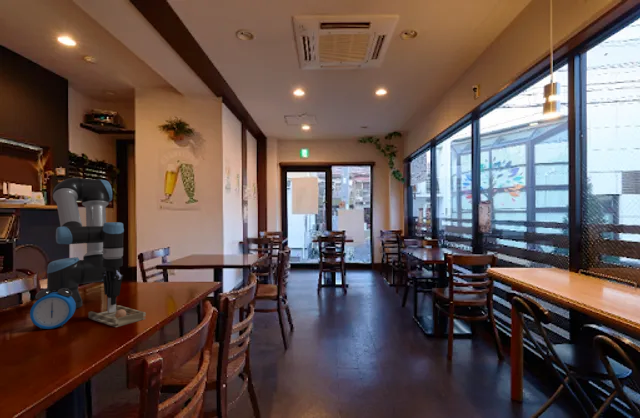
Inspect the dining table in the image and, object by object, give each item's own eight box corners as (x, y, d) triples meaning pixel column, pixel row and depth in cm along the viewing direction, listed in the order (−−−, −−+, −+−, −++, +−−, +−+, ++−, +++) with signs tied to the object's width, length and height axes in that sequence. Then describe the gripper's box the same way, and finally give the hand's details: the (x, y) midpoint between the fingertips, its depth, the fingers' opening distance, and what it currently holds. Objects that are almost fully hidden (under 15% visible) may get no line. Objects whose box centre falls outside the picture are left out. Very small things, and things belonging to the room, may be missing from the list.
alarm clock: (28, 332, 121) (29, 292, 121) (35, 327, 126) (36, 288, 127) (71, 327, 126) (72, 288, 127) (75, 322, 132) (76, 285, 132)
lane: (88, 318, 137) (88, 311, 138) (118, 311, 148) (118, 304, 148) (115, 327, 126) (115, 319, 126) (145, 319, 136) (145, 311, 136)
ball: (114, 321, 134) (112, 312, 135) (124, 319, 137) (121, 310, 138) (119, 318, 132) (117, 309, 133) (129, 316, 136) (126, 307, 136)
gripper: (95, 257, 140) (94, 311, 140) (111, 260, 133) (110, 316, 133) (114, 255, 147) (112, 307, 146) (129, 257, 140) (128, 312, 140)
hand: (111, 311), depth 140 cm, fingers closed
